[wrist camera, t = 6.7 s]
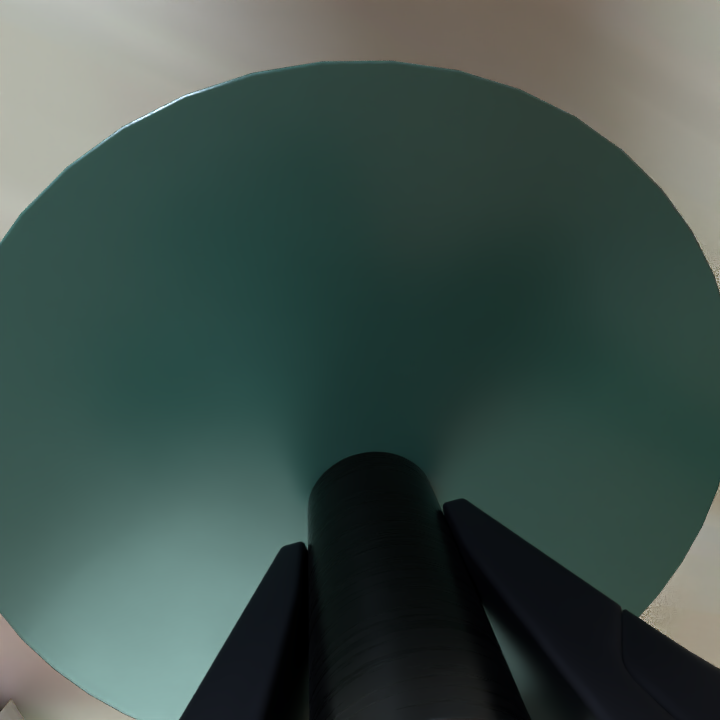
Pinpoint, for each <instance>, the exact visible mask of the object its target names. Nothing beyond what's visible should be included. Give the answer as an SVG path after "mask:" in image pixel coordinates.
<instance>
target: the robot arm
mask: <svg viewBox="0 0 720 720" xmlns="http://www.w3.org/2000/svg"><path fill="white" fill-rule="evenodd" d="M443 513H444V516H445V519H446V521H447V523H448V526H449V528H450V530H451V533H452V535H453V538H454V540H455V542H456V545H457V547H458V549H459V552H460V554H461V556H462V559H463V561H464V563H465V566H466V568H467V570H468V573H469V575H470V577H471V580H472V582H473V584H474V587H475V589H476V591H477V594H478V596H479V598H480V601H481V603H482V605H483V608H484V610H485V612H486V615H487V617H488V619H489V622H490V624H491V626H492V629H493V631H494V633H495V636H496V638H497V641H498V643H499V645H500V648H501V650H502V652H503V655H504V657H505V659H506V662H507V664H508V666H509V669H510V671H511V673H512V676H513V678H514V680H515V683H516V685H517V687H518V690H519V692H520V694H521V697H522V699H523V702H524V704H525V706H526V709H527V711H528V713H529V716H530V718H531V720H720V669H719V668H717V667H715V666H714V665H712V664H710V663H709V662H707V661H705V660H704V659H702V658H700V657H699V656H697V655H695V654H693V653H692V652H690V651H688V650H687V649H685V648H684V647H682V646H681V645H679V644H678V643H676V642H675V641H673V640H672V639H670V638H668V637H667V636H665V635H664V634H662V633H661V632H659V631H658V630H656V629H655V628H653V627H652V626H650V625H649V624H647V623H646V622H644V621H643V620H641V619H640V618H638V617H637V616H635V615H634V614H633V613H631V612H630V611H628V610H627V609H624V610H622V607H621V606H620V605H619V604H618V603H616V602H615V601H613V600H612V599H610V598H609V597H607V596H606V595H605V594H603V593H602V592H600V591H599V590H597V589H596V588H594V587H593V586H591V585H590V584H589V583H587V582H586V581H584V580H583V579H581V578H580V577H578V576H577V575H575V574H574V573H572V572H571V571H570V570H568V569H567V568H565V567H564V566H562V565H561V564H559V563H558V562H556V561H555V560H554V559H552V558H551V557H549V556H548V555H546V554H545V553H543V552H542V551H540V550H539V549H537V548H536V547H535V546H533V545H532V544H530V543H529V542H527V541H526V540H524V539H523V538H521V537H520V536H519V535H517V534H516V533H514V532H513V531H511V530H510V529H508V528H507V527H505V526H504V525H503V524H501V523H500V522H498V521H497V520H495V519H494V518H492V517H491V516H489V515H488V514H486V513H485V512H484V511H482V510H481V509H479V508H478V507H476V506H475V505H473V504H472V503H470V502H469V501H468V500H466V499H464V498H460V499H456V500H452V501H448V502H445V503H444V504H443ZM179 720H309V639H308V550H307V547H306V545H305V543H304V542H302V541H300V542H296V543H292V544H288V545H285V546H283V547H282V548H281V549H280V550H279V552H278V554H277V555H276V557H275V559H274V560H273V562H272V564H271V565H270V567H269V569H268V571H267V572H266V574H265V576H264V577H263V579H262V581H261V582H260V584H259V586H258V587H257V589H256V591H255V592H254V594H253V596H252V597H251V599H250V601H249V603H248V604H247V606H246V608H245V609H244V611H243V613H242V614H241V616H240V618H239V619H238V621H237V623H236V624H235V626H234V628H233V630H232V631H231V633H230V635H229V636H228V638H227V640H226V641H225V643H224V645H223V646H222V648H221V650H220V651H219V653H218V655H217V657H216V658H215V660H214V662H213V663H212V665H211V667H210V668H209V670H208V672H207V673H206V675H205V677H204V678H203V680H202V682H201V684H200V685H199V687H198V689H197V690H196V692H195V694H194V695H193V697H192V699H191V700H190V702H189V704H188V705H187V707H186V709H185V711H184V712H183V714H182V716H181V717H180V719H179Z"/></svg>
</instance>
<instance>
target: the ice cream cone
mask: <svg viewBox="0 0 720 720" xmlns="http://www.w3.org/2000/svg"><path fill="white" fill-rule="evenodd" d="M0 720H24V718H23V716H22V715H21V713H20V712H19V710H18V709H17V707H16V705H15V704H14V702H13V701H12V699H10V701H9V702H8V703H7V704H6V706H5V707H4V708H3V710H2V711H1V712H0Z"/></svg>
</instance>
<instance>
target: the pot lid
mask: <svg viewBox="0 0 720 720" xmlns="http://www.w3.org/2000/svg"><path fill="white" fill-rule="evenodd" d="M719 482H720V292H719V289H718V286H717V283H716V280H715V276H714V274H713V272H712V270H711V268H710V266H709V264H708V262H707V260H706V258H705V256H704V254H703V252H702V250H701V248H700V246H699V244H698V242H697V240H696V238H695V236H694V234H693V232H692V230H691V229H690V227H689V226H688V225H687V223H686V222H685V220H684V219H683V218H682V216H681V215H680V213H679V212H678V211H677V209H676V208H675V207H674V205H673V204H672V202H671V201H670V200H669V198H668V197H667V195H666V194H665V193H664V191H663V190H662V189H661V188H660V187H659V186H658V185H657V184H656V183H655V182H654V181H653V180H652V179H651V178H650V177H649V176H648V175H647V174H646V173H645V172H644V171H643V170H642V169H641V168H640V167H639V166H638V165H637V164H636V163H635V162H634V161H633V160H632V159H631V158H630V157H629V156H628V155H627V154H626V153H625V152H624V151H623V150H622V149H620V148H619V147H618V146H616V145H615V144H613V143H612V142H610V141H609V140H608V139H606V138H605V137H603V136H602V135H601V134H599V133H598V132H596V131H595V130H594V129H592V128H591V127H589V126H588V125H587V124H585V123H584V122H582V121H581V120H580V119H578V118H577V117H575V116H573V115H571V114H569V113H567V112H565V111H563V110H561V109H559V108H557V107H555V106H553V105H551V104H549V103H547V102H545V101H543V100H541V99H539V98H537V97H535V96H533V95H531V94H529V93H527V92H525V91H523V90H521V89H518V88H514V87H511V86H508V85H505V84H501V83H498V82H495V81H492V80H488V79H485V78H482V77H479V76H475V75H472V74H469V73H466V72H462V71H459V70H453V69H446V68H439V67H432V66H425V65H418V64H411V63H404V62H397V61H321V62H315V63H309V64H303V65H297V66H291V67H285V68H279V69H273V70H267V71H261V72H255V73H250V74H247V75H244V76H241V77H238V78H235V79H232V80H229V81H226V82H223V83H220V84H217V85H214V86H211V87H208V88H205V89H202V90H198V91H195V92H192V93H189V94H186V95H184V96H182V97H180V98H178V99H176V100H174V101H172V102H170V103H168V104H166V105H164V106H162V107H160V108H158V109H156V110H154V111H152V112H150V113H148V114H146V115H144V116H142V117H141V118H139V119H137V120H135V121H133V122H131V123H129V124H127V125H125V126H123V127H121V128H120V129H119V130H117V131H116V132H114V133H113V134H112V135H110V136H109V137H108V138H106V139H105V140H103V141H102V142H101V143H99V144H98V145H96V146H95V147H94V148H92V149H91V150H90V151H88V152H87V153H85V154H84V155H83V156H81V157H80V158H79V159H77V160H76V161H74V162H73V163H72V164H70V165H69V166H68V167H66V168H65V169H64V170H63V171H62V172H61V173H60V174H59V175H58V177H57V178H56V179H55V180H54V181H53V182H52V183H51V184H50V185H49V186H48V187H47V188H46V189H45V190H44V191H43V192H42V193H41V194H40V195H39V196H38V197H37V198H36V199H35V200H34V201H33V202H32V203H31V204H30V205H29V206H28V207H27V208H26V209H25V210H24V211H23V212H22V213H21V214H20V215H19V217H18V218H17V220H16V221H15V222H14V224H13V225H12V227H11V228H10V229H9V231H8V232H7V234H6V235H5V236H4V238H3V239H2V241H1V242H0V613H1V615H2V616H3V617H4V618H5V619H6V621H7V622H8V623H9V624H10V625H11V627H12V628H13V629H14V630H15V632H16V633H17V634H18V635H19V636H20V638H21V639H22V640H23V641H24V642H25V643H26V644H27V645H28V646H30V647H31V648H32V649H33V650H34V651H35V652H36V653H37V654H38V655H39V656H40V657H41V658H42V659H44V660H45V661H46V662H47V663H48V664H49V665H50V666H51V667H52V668H53V669H54V670H56V671H57V672H59V673H60V674H61V675H63V676H64V677H65V678H67V679H68V680H70V681H71V682H72V683H74V684H75V685H77V686H78V687H79V688H81V689H82V690H84V691H85V692H86V693H88V694H89V695H91V696H93V697H95V698H96V699H98V700H100V701H102V702H104V703H105V704H107V705H109V706H111V707H112V708H114V709H116V710H118V711H120V712H121V713H123V714H125V715H127V716H130V717H132V718H134V719H137V720H179V719H180V717H181V716H182V714H183V712H184V711H185V709H186V707H187V705H188V704H189V702H190V700H191V699H192V697H193V695H194V694H195V692H196V690H197V689H198V687H199V685H200V684H201V682H202V680H203V678H204V677H205V675H206V673H207V672H208V670H209V668H210V667H211V665H212V663H213V662H214V660H215V658H216V657H217V655H218V653H219V651H220V650H221V648H222V646H223V645H224V643H225V641H226V640H227V638H228V636H229V635H230V633H231V631H232V630H233V628H234V626H235V624H236V623H237V621H238V619H239V618H240V616H241V614H242V613H243V611H244V609H245V608H246V606H247V604H248V603H249V601H250V599H251V597H252V596H253V594H254V592H255V591H256V589H257V587H258V586H259V584H260V582H261V581H262V579H263V577H264V576H265V574H266V572H267V571H268V569H269V567H270V565H271V564H272V562H273V560H274V559H275V557H276V555H277V554H278V552H279V550H280V549H281V548H282V547H283V546H285V545H288V544H292V543H296V542H300V541H302V542H304V543H305V545H306V547H307V550H308V639H309V720H531V718H530V716H529V713H528V711H527V709H526V706H525V704H524V702H523V699H522V697H521V694H520V692H519V690H518V687H517V685H516V683H515V680H514V678H513V676H512V673H511V671H510V669H509V666H508V664H507V662H506V659H505V657H504V655H503V652H502V650H501V648H500V645H499V643H498V641H497V638H496V636H495V633H494V631H493V629H492V626H491V624H490V622H489V619H488V617H487V615H486V612H485V610H484V608H483V605H482V603H481V601H480V598H479V596H478V594H477V591H476V589H475V587H474V584H473V582H472V580H471V577H470V575H469V573H468V570H467V568H466V566H465V563H464V561H463V559H462V556H461V554H460V552H459V549H458V547H457V545H456V542H455V540H454V538H453V535H452V533H451V530H450V528H449V526H448V523H447V521H446V519H445V516H444V513H443V504H444V503H445V502H448V501H452V500H456V499H460V498H464V499H466V500H468V501H469V502H470V503H472V504H473V505H475V506H476V507H478V508H479V509H481V510H482V511H484V512H485V513H486V514H488V515H489V516H491V517H492V518H494V519H495V520H497V521H498V522H500V523H501V524H503V525H504V526H505V527H507V528H508V529H510V530H511V531H513V532H514V533H516V534H517V535H519V536H520V537H521V538H523V539H524V540H526V541H527V542H529V543H530V544H532V545H533V546H535V547H536V548H537V549H539V550H540V551H542V552H543V553H545V554H546V555H548V556H549V557H551V558H552V559H554V560H555V561H556V562H558V563H559V564H561V565H562V566H564V567H565V568H567V569H568V570H570V571H571V572H572V573H574V574H575V575H577V576H578V577H580V578H581V579H583V580H584V581H586V582H587V583H589V584H590V585H591V586H593V587H594V588H596V589H597V590H599V591H600V592H602V593H603V594H605V595H606V596H607V597H609V598H610V599H612V600H613V601H615V602H616V603H618V604H619V605H620V606H621V607H622V610H624V609H627V610H628V611H630V612H631V613H633V614H634V615H635V616H637V617H638V618H639V616H640V615H641V614H642V613H643V612H644V611H645V610H646V609H647V607H648V606H649V605H650V604H651V603H652V602H653V601H654V599H655V598H656V597H657V596H658V595H659V594H660V592H661V591H662V590H663V588H664V587H665V585H666V584H667V583H668V581H669V580H670V578H671V577H672V576H673V574H674V573H675V571H676V570H677V569H678V567H679V566H680V564H681V563H682V562H683V560H684V558H685V556H686V554H687V553H688V551H689V549H690V547H691V545H692V544H693V542H694V540H695V538H696V537H697V535H698V533H699V531H700V529H701V528H702V526H703V523H704V521H705V518H706V516H707V514H708V511H709V509H710V506H711V504H712V502H713V499H714V497H715V494H716V492H717V490H718V486H719Z"/></svg>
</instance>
